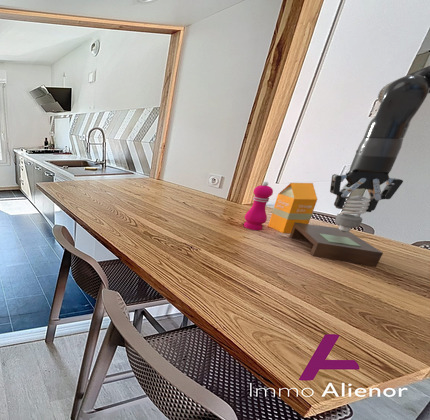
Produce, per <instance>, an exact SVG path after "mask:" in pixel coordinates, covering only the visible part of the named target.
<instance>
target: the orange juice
mask: <svg viewBox="0 0 430 420" xmlns="http://www.w3.org/2000/svg"><path fill="white" fill-rule="evenodd" d="M317 202H318V196H317V193H316V189H315V185H314V182H290V183H289V184H288V185H287V186H285V188H283V189H282V190H281V191H280V192H279V193H277V196H276V200H275V202H274V205H273V208H272V211H271V215H270V220H269V222H268V225H267V226H268V228H271V229H273V230H275V231H277V232H280V233H281V234H291V231H292V228H293V225H294V223H295V222H296V223H303V224H310V221H311V218H312V215H313V212H314V210H315V207H316V206H317V205H316V204H317Z"/></svg>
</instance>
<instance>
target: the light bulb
mask: <svg viewBox="0 0 430 420" xmlns="http://www.w3.org/2000/svg"><path fill="white" fill-rule="evenodd" d="M345 198H346V200H345V203H344V205H343V208H342V209H341V210H342V211H341V212H340V213H337V214H336V215H335V219H334V224H336V225H338V228H339V229H340V230H341V231H342V232H347V231H349V232H351V230H352V228H353V229H354V228H355V229H356V228H359V227H360V225H361V224H362V222H363V218H362V217H361V215H363V214H366V213H367V212H366V210H367V209H368V206H369V205H370V204H369V202H370V198H368V197H366V196H363V195H359V194H358V195H355V196H354V195H353V196H349V195H347V196H346V197H345Z"/></svg>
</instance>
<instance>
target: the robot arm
mask: <svg viewBox="0 0 430 420" xmlns="http://www.w3.org/2000/svg"><path fill="white" fill-rule="evenodd" d="M429 94H430V65H428V66H426V67H425V66H424V67H422V68H420V69H419V70H416V71H413V72H411V73H409V74H406V75H404V76H402V77H400V78H397V79H395V80H393V81H391V82H389V83H386V85H385V86H383V87H382V88H381V89H380V91H379V92H378V95H377V101H378V102H379V103H380V105H379V106H378V109H377V112H376V114H375V116H374V117H373V118H372V119H371V120H370V121H369V123H368V125H367V128H366V130H365V132H364V135H363V138H362V140H361V142H360V143H359V145H358V147H357V149H356V151H355V155H354V157H353V160H352V162H351V165H350V167H349V171H348V172H347V173H346V174H336V173H334V174H332V175H331V181H330V188H329V192H330V194H333V195H336V197H335V200H334V203H333V205H334V206H335V208H336V209H338V210H343V209H342V208H343V207H344V206H343V205H344V203H346V202H345V200H347V199H346V198H345V197H346V196H349V195H350V194H351V193H352V192H354V191H356V190H367V192H368V194H369V199H370V202H369V204H370V205H369V206H368V209H367V210H366V213H371V212H372V211H374V210H376V208H377V205H378V204H379V201H381V200H391V199H392V197H394V195H395V194H396V192H397V191H398V190H399V188H400V187H401V186H402V185H403V183H404V180H403V179H401V178H395V177H390V176H389V175H390V173H391V171H392V170H393V167H394V166H395V163H396V160H397V158H398V156H399V153H400V151H401V149H402V147H403V142H404V139H405V136H406V134H407V132H408V130H409V128H410V126H411V122H412V120H413V118H414V117H415V115H416V114H417V112H418V111H419V110H420V108H421V106H422V105H423V103H424V102H425V100H426V98H427V97H428V95H429ZM345 180H346V181H347V182H346V183H345V184H344V185H343V186H342V187H341V185H342V184H341V183H342V182H344V181H345ZM384 184H386V185H385V187H384V188H383V190H381V185H384Z"/></svg>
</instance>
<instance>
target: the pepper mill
mask: <svg viewBox="0 0 430 420" xmlns="http://www.w3.org/2000/svg"><path fill="white" fill-rule="evenodd" d="M273 192H274V189H273V188H272V187H271V186H269V182H268V181H263V182H262V184H261V185H257V186H256V187H255V188H254V189H253V194H254V196H253V197H252V200H253V203H252V206H251V207H250V208H249V210H248V211H247V212H246V213H245V214H244V219H245V222H244V223H243V227H244V228H245V229H248V230H251V231H263V229H264V228H263V227H264V225H263V224H265V223H266V222H267V219H268V216H267V212H266V207H267V203H269V200H270V197H271V196H272V195H273Z"/></svg>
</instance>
